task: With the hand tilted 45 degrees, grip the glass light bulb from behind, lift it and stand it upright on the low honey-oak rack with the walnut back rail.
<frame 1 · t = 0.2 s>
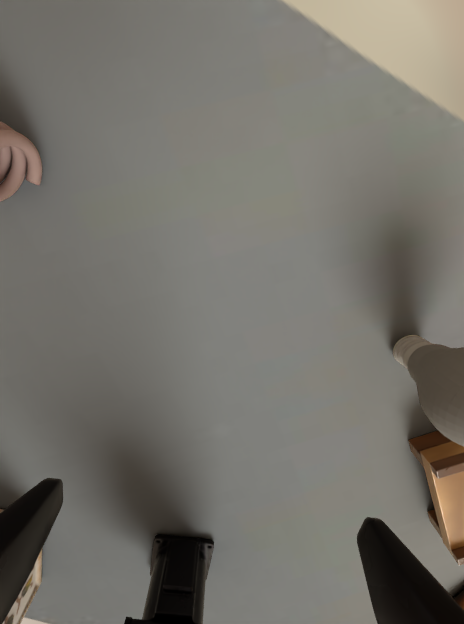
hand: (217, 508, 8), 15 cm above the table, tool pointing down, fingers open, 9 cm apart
light bulb: (404, 345, 23), on the table
sunglasses case: (446, 620, 35), on the table
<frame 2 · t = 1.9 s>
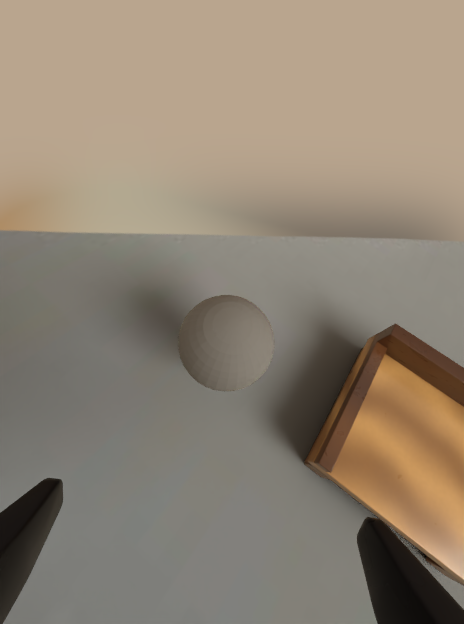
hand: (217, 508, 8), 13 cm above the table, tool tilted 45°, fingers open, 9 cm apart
bulb rack: (397, 444, 22), on the table
light bulb: (216, 368, 23), on the table
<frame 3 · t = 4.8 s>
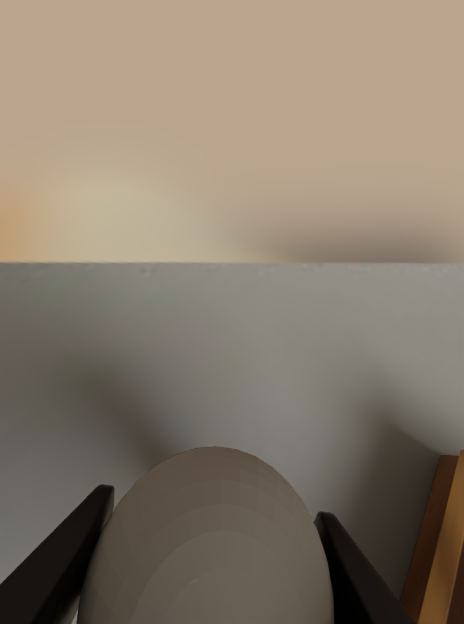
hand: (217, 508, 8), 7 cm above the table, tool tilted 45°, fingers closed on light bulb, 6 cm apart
light bulb: (201, 510, 13), on the table, touching gripper
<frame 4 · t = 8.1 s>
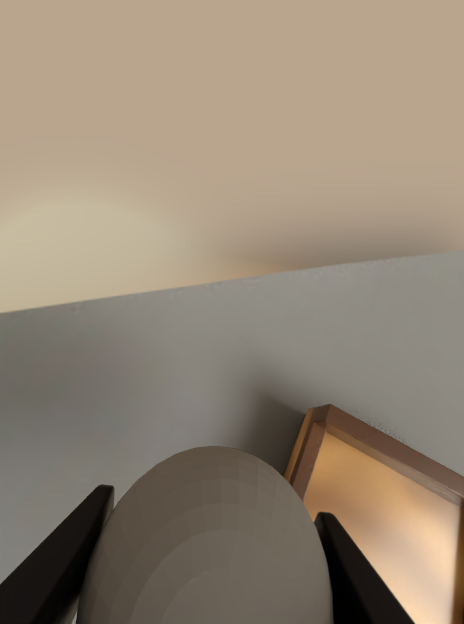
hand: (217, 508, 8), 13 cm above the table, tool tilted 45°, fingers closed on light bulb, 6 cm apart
bulb rack: (352, 534, 19), on the table
light bulb: (201, 510, 13), point 6 cm above the table, touching gripper
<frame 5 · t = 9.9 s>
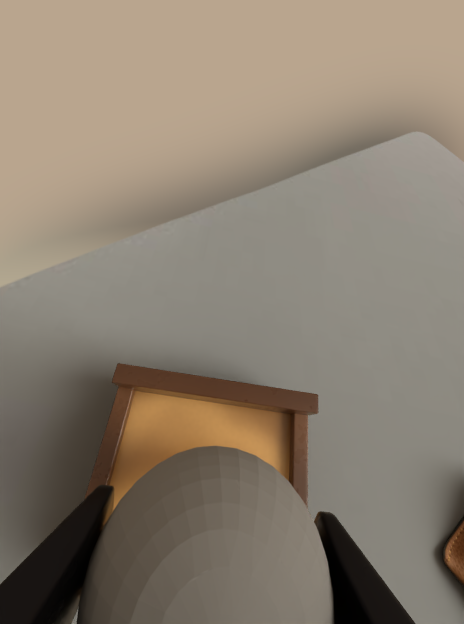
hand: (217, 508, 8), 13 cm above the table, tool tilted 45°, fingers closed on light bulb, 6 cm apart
bulb rack: (201, 476, 19), on the table
light bulb: (201, 510, 13), point 6 cm above the table, touching gripper
when the fingers open (10 cm above the table, at t = 11.6 s): light bulb stays where it is, resting on bulb rack.
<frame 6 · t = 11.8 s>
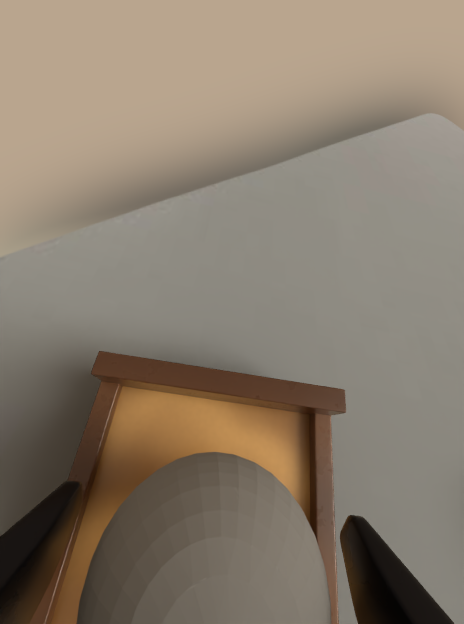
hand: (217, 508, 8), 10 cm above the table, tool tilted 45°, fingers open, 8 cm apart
bulb rack: (202, 489, 16), on the table
light bulb: (200, 514, 13), point 3 cm above the table, touching bulb rack
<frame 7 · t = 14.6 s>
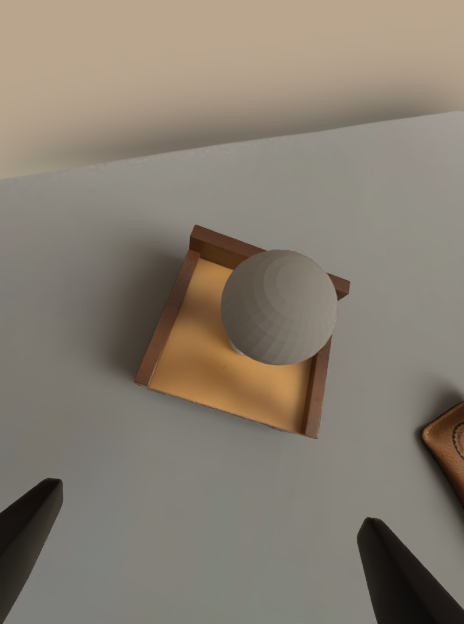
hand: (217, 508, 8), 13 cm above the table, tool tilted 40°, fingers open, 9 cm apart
bulb rack: (239, 341, 23), on the table
light bulb: (244, 340, 21), point 3 cm above the table, touching bulb rack
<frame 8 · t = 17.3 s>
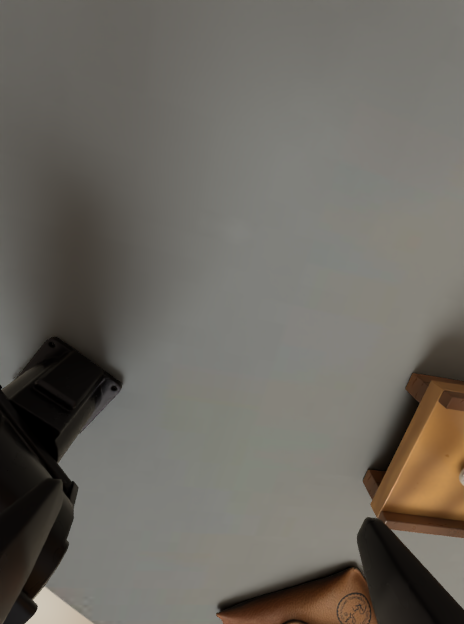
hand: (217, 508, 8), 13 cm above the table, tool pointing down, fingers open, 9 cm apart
bulb rack: (448, 440, 24), on the table
sunglasses case: (294, 601, 32), on the table
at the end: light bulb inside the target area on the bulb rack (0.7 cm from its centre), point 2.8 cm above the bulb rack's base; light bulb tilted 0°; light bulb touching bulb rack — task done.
